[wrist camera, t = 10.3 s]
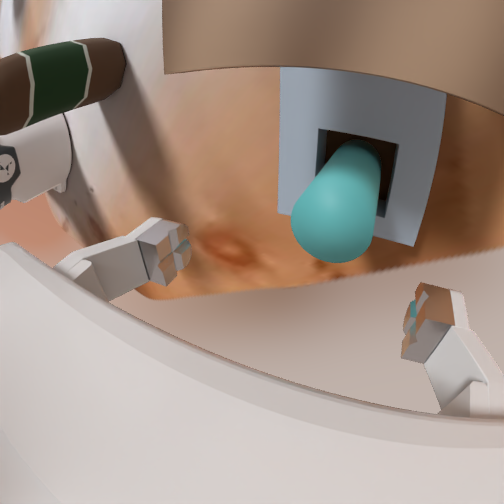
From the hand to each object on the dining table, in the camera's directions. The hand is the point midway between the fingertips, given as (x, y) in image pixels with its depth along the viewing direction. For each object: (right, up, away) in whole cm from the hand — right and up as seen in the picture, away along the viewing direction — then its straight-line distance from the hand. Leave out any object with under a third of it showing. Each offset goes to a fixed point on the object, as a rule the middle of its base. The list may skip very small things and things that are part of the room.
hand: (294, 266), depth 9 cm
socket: (+6, +10, +7) cm, 14 cm away
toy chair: (+6, +17, +2) cm, 18 cm away
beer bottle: (-17, +21, +13) cm, 30 cm away
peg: (+6, +7, +9) cm, 13 cm away
